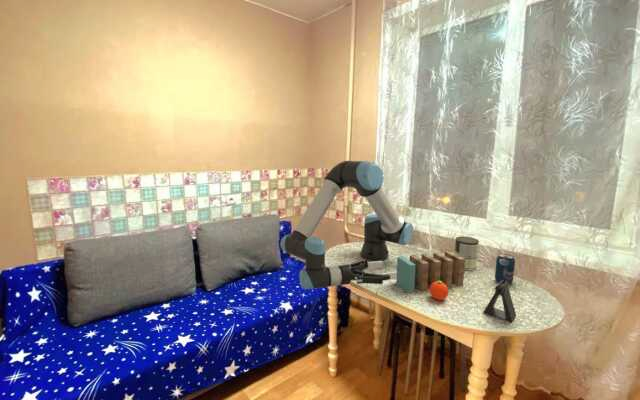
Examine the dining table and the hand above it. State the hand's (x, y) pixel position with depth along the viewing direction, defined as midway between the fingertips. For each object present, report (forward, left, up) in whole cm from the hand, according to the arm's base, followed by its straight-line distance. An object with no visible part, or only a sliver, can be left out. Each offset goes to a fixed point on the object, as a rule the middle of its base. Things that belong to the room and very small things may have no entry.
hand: (388, 269), depth 125 cm
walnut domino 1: (0, +14, -9) cm, 17 cm away
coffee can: (-12, +49, -9) cm, 51 cm away
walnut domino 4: (0, +32, -9) cm, 33 cm away
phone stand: (+28, +29, -9) cm, 41 cm away
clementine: (+12, +16, -9) cm, 22 cm away
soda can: (+7, +53, -9) cm, 54 cm away
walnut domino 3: (0, +26, -9) cm, 28 cm away
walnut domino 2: (0, +20, -9) cm, 22 cm away
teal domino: (0, +8, -9) cm, 12 cm away
